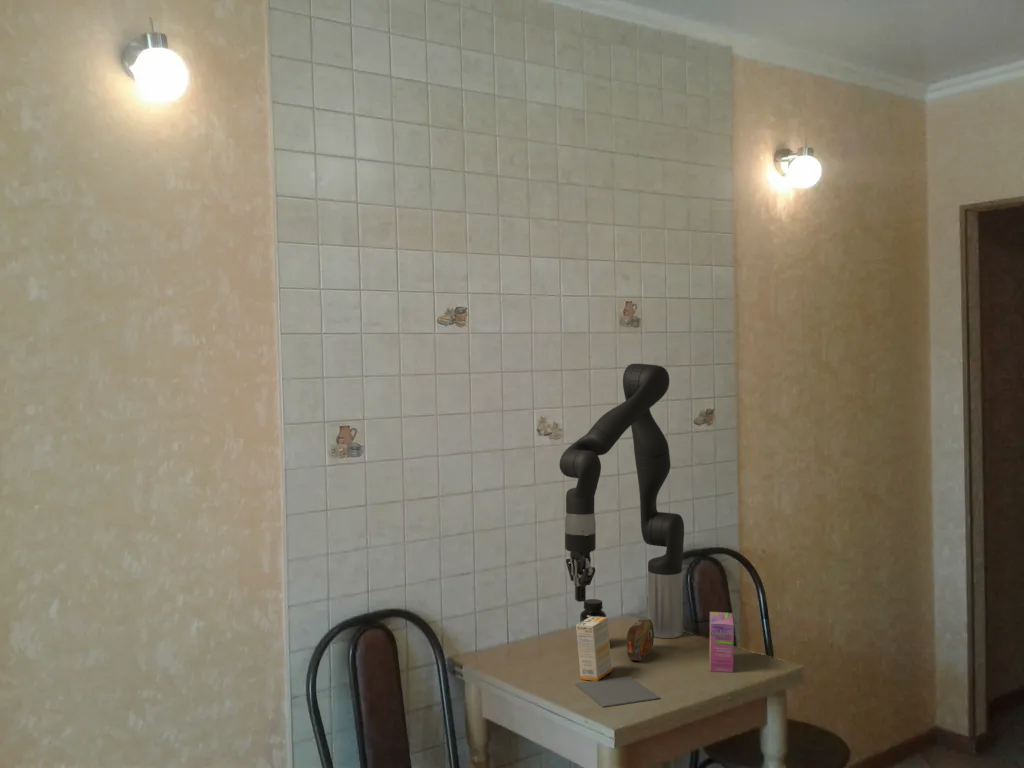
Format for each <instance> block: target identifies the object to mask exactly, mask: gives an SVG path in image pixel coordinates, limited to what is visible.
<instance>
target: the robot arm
mask: <svg viewBox="0 0 1024 768" xmlns="http://www.w3.org/2000/svg"><path fill="white" fill-rule="evenodd" d="M622 375H623V376H622V386H623V387H622V389H623V393H624V399H625V401H623V402H621V403H620V404H618V405H617V406H615V407H614V408H612V409H610V410H608V411H607V412H605V413H604V414H603V415H602V416H601V417H599V419H598V420H597V421H596V422H595V423H594V424H593V426H592V427H591V428H590V429H589V430H588V431H587V433H586V434H585V435H583V436H582V437H580V438H579V439H578V440H576V441H575V442H573V443H572V444H570V446H568V447H567V448H566V449H565V450H564V452H563V453H562V455H561V456H560V459H559V469H560V472H561V473H562V475H564V476H566V477H568V478H573V479H577V483H576V487H572V488H569V489H568V490H567V491H566V495H565V518H564V519H565V520H564V550H566V551H567V552H570V553H569V557H570V558H566V559H565V564H566V567H567V571H568V574H569V577H570V581H571V582H573V586H574V600H575V602H578V603H581V602H584V601H585V600H587V599H586V598H587V596H586V592H587V591H586V589H587V586H590V585H591V583H592V581H593V578H594V575H595V572H596V567H593V566H592V565H591V563H592V562H591V561H592V558H591V554H590V553H591V552H594V551H595V550H596V546H597V545H596V543H597V541H596V539H597V538H596V534H597V532H596V517H595V515H596V514H595V496H596V491H597V489H598V484H599V480H600V476H601V470H602V465H601V460H600V457H599V456H603V455H606V454H607V453H609V452H610V450H611V449H612V448H613V447H614V445H616V443H617V442H618V441H619V439H620V438H621V437H622V436H623V434H624V433H625V432H626V431H627V430H628V429H629V428H630V427H631V434H632V440H633V453H634V460H635V467H636V473H637V482H638V491H639V505H640V511H639V512H640V528H641V529H640V530H641V536H642V539H643V541H644V542H645V544H647V545H650V546H655V547H665V548H666V551H665V554H663V555H661V556H657V557H653V558H650V559H649V560H648V561H647V598H646V599H647V601H646V603H647V605H646V607H647V609H646V610H647V614H646V615H647V619H646V620H648V619H649V620H651V622H652V624H653V630H654V638H660V639H674V638H679V637H681V636H682V635H683V562H684V545H685V544H684V543H685V523H684V522H685V521H684V519H683V517H682V516H681V515H680V514H678V513H673V512H663V511H658V509H657V499H658V495H659V492H660V490H661V488H662V487H663V484H664V483H665V482H666V479H667V477H668V476H669V474H670V470H671V457H670V456H671V455H670V448H669V443H668V440H667V439H666V436H665V435H664V433H663V431H662V430H661V428H660V426H659V425H658V423H657V422H656V421H655V419H654V417H653V415H652V413H651V412H652V411H651V408H652V407H653V406H654V405H656V404H657V402H659V401H660V400H661V399H662V398H663V397H664V396H665V394H667V391H668V389H669V386H670V375H669V372H668V371H667V369H666V368H665V367H663V366H662V365H658V364H651V363H650V364H645V363H631V364H628V365H627V367H626V368H625V370H624V372H623V374H622Z"/></svg>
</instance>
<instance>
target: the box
mask: <svg viewBox="0 0 1024 768" xmlns="http://www.w3.org/2000/svg"><path fill="white" fill-rule="evenodd" d="M734 639H735V623H734V615H733V612H725V611H724V612H723V611H722V612H721V611H709V671H710V672H714V673H715V672H716V673H729V674H730V673H733V674H734V654H735V653H734V652H735V651H734V645H735V644H734V643H735V642H734V641H735V640H734Z"/></svg>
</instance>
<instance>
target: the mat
mask: <svg viewBox="0 0 1024 768" xmlns="http://www.w3.org/2000/svg"><path fill="white" fill-rule="evenodd" d="M574 685H575V686H576V687H577V688H578V689H580V690H581V692H583V693H584V694H586V695H587V696H588V697H590V698H591V699H592V700H593V701H594V702H595V703H597V704H598V705H599V704H600V707H602V708H608V707H609V706H610V707H615V706H622V705H629V704H635V703H641V702H647V701H655V700H660V699H661V697H660V696H659V695H657V694H656V693H654V692H653V691H651V690H650V689H649V688H648V687H646V686H645V685H643V684H642V683H641V682H638V681H637V680H636V679H635V678H633V677H632V676H631V675H628V676H620V677H614V678H613V677H612V678H607V679H600V680H598V681H592V680H589V681H584V682H576V683H575V684H574Z"/></svg>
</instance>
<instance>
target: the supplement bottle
mask: <svg viewBox="0 0 1024 768" xmlns="http://www.w3.org/2000/svg"><path fill="white" fill-rule="evenodd" d="M603 608H604V607H603V601H602V600H600V599H597V598H588V599H586V600H585V601H583V609H584V610H582V611H581V612H580V615H579V623H580V622H582V621H584V620H586V619H587V618H589V617H591V616H594V617H607V614H606V612H605V611H604V610H603Z"/></svg>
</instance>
